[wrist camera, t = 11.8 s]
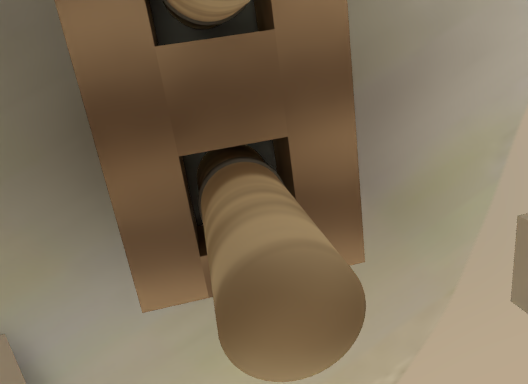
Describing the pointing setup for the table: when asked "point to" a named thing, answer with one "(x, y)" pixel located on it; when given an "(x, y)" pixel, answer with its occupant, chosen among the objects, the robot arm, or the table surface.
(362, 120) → the table surface
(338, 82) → the wooden peg block
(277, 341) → the beech peg
